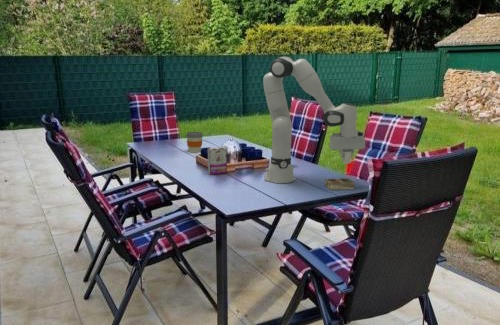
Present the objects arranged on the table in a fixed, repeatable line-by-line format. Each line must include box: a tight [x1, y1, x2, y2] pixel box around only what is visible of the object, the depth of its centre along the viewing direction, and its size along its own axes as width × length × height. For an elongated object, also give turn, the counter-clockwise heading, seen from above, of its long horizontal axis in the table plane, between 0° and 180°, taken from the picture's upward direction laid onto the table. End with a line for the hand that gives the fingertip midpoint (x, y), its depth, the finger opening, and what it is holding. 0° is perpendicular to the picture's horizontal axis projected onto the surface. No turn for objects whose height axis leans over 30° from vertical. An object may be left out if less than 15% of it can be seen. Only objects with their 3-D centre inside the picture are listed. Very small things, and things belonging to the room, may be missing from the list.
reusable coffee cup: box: [185, 131, 204, 154], centre depth 339 cm, size 13×13×15 cm
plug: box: [341, 149, 352, 164], centre depth 244 cm, size 4×4×8 cm
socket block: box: [324, 177, 356, 191], centre depth 246 cm, size 9×14×4 cm, turn 101°
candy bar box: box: [207, 146, 228, 176], centre depth 273 cm, size 11×5×16 cm, turn 112°
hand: (346, 157), depth 244 cm, fingers closed on plug, 4 cm apart
